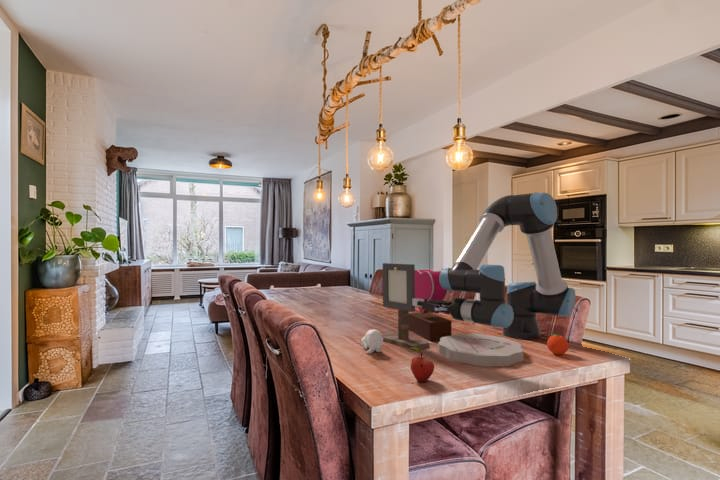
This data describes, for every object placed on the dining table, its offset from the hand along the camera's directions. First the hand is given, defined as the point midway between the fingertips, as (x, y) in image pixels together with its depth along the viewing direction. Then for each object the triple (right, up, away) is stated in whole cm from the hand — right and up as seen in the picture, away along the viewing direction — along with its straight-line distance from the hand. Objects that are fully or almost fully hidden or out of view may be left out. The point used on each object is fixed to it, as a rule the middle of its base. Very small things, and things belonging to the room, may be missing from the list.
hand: (413, 301), depth 146 cm
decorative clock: (+10, -18, +21) cm, 29 cm away
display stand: (-4, -18, +8) cm, 20 cm away
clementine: (+51, -18, -8) cm, 55 cm away
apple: (-3, -18, -34) cm, 39 cm away
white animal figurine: (-17, -18, -3) cm, 25 cm away
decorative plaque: (+23, -18, -6) cm, 30 cm away
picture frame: (-5, -4, +6) cm, 9 cm away
